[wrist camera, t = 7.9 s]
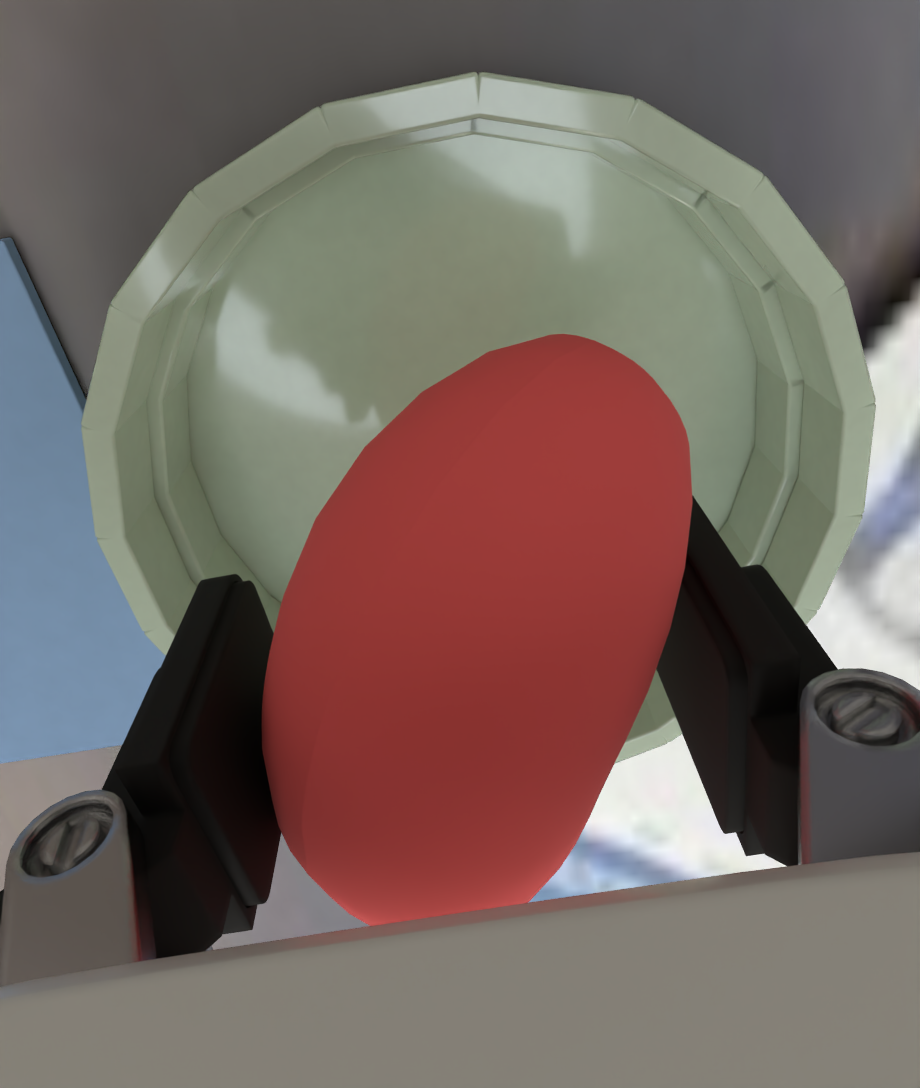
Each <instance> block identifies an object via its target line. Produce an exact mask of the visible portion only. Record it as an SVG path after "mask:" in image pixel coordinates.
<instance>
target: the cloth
mask: <svg viewBox="0 0 920 1088" xmlns="http://www.w3.org/2000/svg"><path fill="white" fill-rule="evenodd" d="M85 404H86V399H85V397H84V394H83V392H82V390H81V388H80V386H79V384H78V381H77V379H76V377H75V375H74V373H73V371H72V368H71V366H70V364H69V362H68V360H67V357H66V355H65V353H64V351H63V349H62V347H61V344H60V342H59V340H58V338H57V336H56V334H55V331H54V329H53V327H52V325H51V323H50V320H49V318H48V316H47V314H46V312H45V310H44V307H43V305H42V303H41V301H40V299H39V297H38V294H37V292H36V290H35V288H34V286H33V284H32V281H31V279H30V277H29V275H28V273H27V270H26V268H25V266H24V264H23V262H22V260H21V257H20V255H19V253H18V251H17V249H16V247H15V244H14V242H13V240H12V238H9V237H8V238H3V239H0V763H7V762H14V761H20V760H27V759H33V758H40V757H46V756H53V755H59V754H66V753H73V752H79V751H86V750H92V749H99V748H105V747H112V746H118V745H123V742H124V740H125V738H126V736H127V734H128V731H129V729H130V727H131V725H132V723H133V721H134V718H135V716H136V714H137V712H138V710H139V708H140V705H141V703H142V701H143V699H144V697H145V694H146V692H147V690H148V688H149V686H150V684H151V681H152V679H153V677H154V675H155V674H156V672H157V671H158V669H159V668H161V665H162V663H163V661H164V659H165V657H166V656H165V655H164V654H163V653H162V652H161V651H160V650H159V649H158V648H157V647H156V646H155V645H154V644H153V643H152V641H151V640H150V639H149V638H148V637H147V636H146V635H145V634H144V632H145V631H142V629H141V627H140V625H139V623H138V621H137V619H136V617H135V615H134V613H133V611H132V609H131V607H130V605H129V603H128V601H127V599H126V597H125V595H124V593H123V591H122V589H121V587H120V585H119V583H118V581H117V580H116V578H115V576H114V574H113V572H112V570H111V568H110V566H109V564H108V562H107V560H106V558H105V556H104V554H103V552H102V550H101V548H100V546H99V544H98V542H97V537H96V536H95V531H94V523H93V515H92V508H91V500H90V492H89V485H88V477H87V469H86V462H85V454H84V446H83V439H82V431H81V427H82V425H81V420H82V416H83V412H84V408H85Z"/></svg>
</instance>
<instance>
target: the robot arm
mask: <svg viewBox="0 0 920 1088" xmlns="http://www.w3.org/2000/svg"><path fill="white" fill-rule="evenodd" d="M692 501H693V503H692V512H691V520H690V529H689V537H688V546H687V554H686V563H685V569H684V574H683V578H682V582H681V586H680V590H679V594H678V599H677V603H676V607H675V611H674V615H673V619H672V624H671V628H670V631H669V634H668V636H667V639H666V642H665V645H664V648H663V651H662V654H661V656H660V659H659V662H658V665H657V668H656V669H657V672H658V674H659V677H660V679H661V682H662V684H663V687H664V689H665V692H666V694H667V697H668V699H669V702H670V704H671V707H672V709H673V712H674V714H675V717H676V719H677V721H678V724H679V726H680V729H681V731H682V734H683V736H684V739H685V741H686V744H687V746H688V749H689V751H690V754H691V756H692V759H693V761H694V764H695V766H696V769H697V771H698V774H699V776H700V778H701V781H702V783H703V786H704V788H705V791H706V793H707V796H708V798H709V801H710V803H711V806H712V808H713V811H714V813H715V816H716V818H717V821H718V823H719V825H720V828H721V830H722V831H723V833H725V834H727V833H734V832H736V833H737V836H738V838H739V841H740V843H741V845H742V848H743V850H744V852H745V855H746V856H751V855H757V854H764V853H765V855H767V856H769V857H771V858H773V859H775V860H776V861H778V862H780V863H782V864H784V865H786V866H787V867H780V868H772V869H764V870H756V871H748V872H740V873H733V874H726V875H719V876H712V877H705V878H698V879H691V880H684V881H677V882H670V883H663V884H656V885H649V886H642V887H635V888H628V889H621V890H614V891H607V892H600V893H593V894H586V895H579V896H572V897H565V898H558V899H551V900H544V901H537V902H531V903H524V904H517V905H510V906H503V907H497V908H490V909H483V910H476V911H469V912H463V913H456V914H449V915H442V916H435V917H429V918H422V919H415V920H409V921H402V922H395V923H388V924H382V925H375V926H368V927H362V928H355V929H348V930H341V931H335V932H328V933H322V934H315V935H309V936H302V937H296V938H289V939H282V940H276V941H269V942H263V943H256V944H250V945H243V946H237V947H230V948H224V949H217V950H213V948H212V946H211V945H212V944H214V943H215V942H216V941H217V940H218V939H219V938H220V937H221V936H222V934H228V933H234V932H241V931H248V930H252V929H253V924H254V919H255V914H256V909H257V904H264V903H265V902H266V901H267V899H268V897H269V893H270V889H271V883H272V878H273V873H274V868H275V862H276V857H277V852H278V847H279V841H280V836H281V830H280V828H279V826H278V822H277V818H276V814H275V810H274V806H273V802H272V797H271V792H270V787H269V782H268V777H267V772H266V767H265V762H264V756H263V751H262V701H263V691H264V682H265V675H266V669H267V663H268V658H269V653H270V648H271V644H272V639H273V635H274V633H273V630H272V628H271V625H270V623H269V620H268V618H267V615H266V612H265V610H264V607H263V605H262V602H261V600H260V597H259V595H258V592H257V590H256V587H255V585H254V584H253V582H252V581H250V580H248V581H243V580H242V579H241V577H240V576H239V575H237V574H231V575H226V576H220V577H214V578H209V579H204V580H201V581H200V583H199V584H198V586H197V588H196V591H195V593H194V595H193V597H192V599H191V602H190V604H189V606H188V608H187V610H186V613H185V615H184V617H183V619H182V621H181V624H180V626H179V628H178V630H177V632H176V635H175V637H174V639H173V641H172V643H171V646H170V648H169V650H168V652H167V654H166V657H165V659H164V661H163V663H162V665H161V668H159V669H158V671H157V672H156V674H155V675H154V677H153V679H152V681H151V684H150V686H149V688H148V690H147V692H146V694H145V697H144V699H143V701H142V703H141V705H140V708H139V710H138V712H137V714H136V716H135V718H134V721H133V723H132V725H131V727H130V729H129V731H128V734H127V736H126V738H125V740H124V742H123V745H122V747H121V749H120V751H119V753H118V755H117V758H116V760H115V762H114V764H113V766H112V769H111V771H110V773H109V775H108V777H107V779H106V782H105V784H104V786H103V788H102V790H94V791H85V792H82V793H79V794H76V795H73V796H70V797H67V798H65V799H63V800H61V801H60V802H58V803H56V804H54V805H52V806H50V807H49V808H48V809H46V810H45V811H44V812H43V813H41V814H40V815H39V816H37V817H36V818H35V819H34V820H33V821H32V822H31V823H30V824H29V825H28V826H27V827H26V828H25V829H24V830H23V831H22V832H21V833H20V835H19V837H18V838H17V840H16V841H15V843H14V845H13V846H12V848H11V850H10V853H9V857H8V860H7V864H6V874H5V884H4V889H3V890H2V891H1V892H0V1088H920V691H919V690H918V689H916V688H915V687H913V686H912V685H910V684H908V683H907V682H905V681H904V680H902V679H899V678H896V677H894V676H891V675H888V674H886V673H883V672H878V671H873V670H867V669H839V670H838V669H837V668H836V666H835V665H834V663H833V662H832V661H831V659H830V658H829V656H828V655H827V654H826V652H825V651H824V649H823V648H822V647H821V645H820V644H819V642H818V641H817V640H816V638H815V637H814V636H813V634H812V633H811V631H810V630H809V629H808V627H807V626H806V624H805V623H804V622H803V620H802V619H801V617H800V616H799V615H798V613H797V612H796V610H795V609H794V608H793V606H792V605H791V603H790V602H789V601H788V599H787V598H786V596H785V595H784V594H783V592H782V591H781V589H780V588H779V587H778V585H777V584H776V583H775V581H774V580H773V578H772V577H771V576H770V574H769V573H768V571H767V570H766V569H765V568H764V567H763V566H761V565H758V564H756V565H750V566H745V567H740V565H739V564H738V562H737V561H736V559H735V558H734V556H733V555H732V553H731V552H730V550H729V549H728V547H727V546H726V544H725V543H724V541H723V540H722V538H721V537H720V535H719V534H718V532H717V531H716V529H715V528H714V526H713V525H712V523H711V522H710V520H709V519H708V517H707V516H706V514H705V513H704V511H703V510H702V508H701V507H700V505H699V504H698V502H697V501H696V499H695V498H694V496H693V495H692Z"/></svg>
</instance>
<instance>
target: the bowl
mask: <svg viewBox="0 0 920 1088" xmlns="http://www.w3.org/2000/svg"><path fill="white" fill-rule="evenodd" d="M552 334H570V335H577V336H581V337H585V338H588V339H591V340H595V341H597V342H599V343H601V344H604V345H606V346H608V347H610V348H612V349H614V350H616V351H618V352H619V353H621V354H623V355H625V356H626V357H628V358H630V359H631V360H633V361H634V362H636V363H637V364H638V365H639V366H641V367H642V368H643V369H644V370H645V371H646V372H647V373H648V374H649V375H650V376H651V377H652V378H653V379H654V380H655V381H656V383H657V384H658V385H659V386H660V388H661V389H662V390H663V391H664V393H665V394H666V395H667V397H668V398H669V399H670V400H671V402H672V404H673V405H674V407H675V409H676V410H677V412H678V414H679V415H680V418H681V420H682V422H683V425H684V427H685V429H686V433H687V437H688V441H689V447H690V465H691V483H692V495H693V496H694V498H695V499H696V501H697V502H698V504H699V505H700V507H701V508H702V510H703V511H704V513H705V514H706V516H707V517H708V519H709V520H710V522H711V523H712V525H713V526H714V528H715V529H716V531H717V532H718V534H719V535H720V537H721V538H722V540H723V541H724V543H725V544H726V546H727V547H728V549H729V550H730V552H731V553H732V555H733V556H734V558H735V559H736V561H737V562H738V564H739V565H740V567H745V566H750V565H756V564H758V565H761V566H763V567H764V568H765V569H766V570H767V571H768V573H769V574H770V576H771V577H772V578H773V580H774V581H775V583H776V584H777V585H778V587H779V588H780V589H781V591H782V592H783V594H784V595H785V596H786V598H787V599H788V601H789V602H790V603H791V605H792V606H793V608H794V609H795V610H796V612H797V613H798V615H799V616H800V617H801V619H802V620H803V622H804V623H805V624H806V625H807V623H808V622H809V621H810V620H811V619H812V618H813V617H814V616H815V614H816V613H817V610H819V609H820V607H821V605H822V602H823V600H824V598H825V596H826V594H827V592H828V590H829V588H830V585H831V583H832V581H833V579H834V577H835V575H836V573H837V570H838V568H839V566H840V564H841V562H842V560H843V558H844V556H845V553H846V551H847V549H848V547H849V545H850V543H851V541H852V539H853V536H854V534H855V532H856V530H857V528H858V526H859V524H860V522H861V519H862V514H863V512H864V506H865V497H866V488H867V479H868V471H869V462H870V453H871V444H872V435H873V427H874V418H875V409H876V405H875V403H874V402H875V395H874V391H873V388H872V384H871V380H870V376H869V372H868V368H867V364H866V360H865V356H864V352H863V348H862V345H861V341H860V337H859V333H858V329H857V325H856V321H855V317H854V313H853V309H852V306H851V302H850V298H849V294H848V290H847V286H846V285H845V283H844V280H843V278H842V277H841V275H840V274H839V273H838V271H837V270H836V269H835V267H834V266H833V265H832V263H831V262H830V261H829V259H828V258H827V257H826V255H825V254H824V253H823V251H822V250H821V249H820V247H819V246H818V245H817V243H816V242H815V240H814V239H813V238H812V236H811V235H810V234H809V232H808V231H807V230H806V228H805V227H804V226H803V224H802V223H801V222H800V220H799V219H798V218H797V216H796V215H795V214H794V212H793V211H792V209H791V208H790V207H789V205H788V204H787V203H786V201H785V200H784V199H783V197H782V196H781V195H780V193H779V192H778V191H777V189H776V188H775V187H774V185H773V184H772V183H771V181H770V180H769V178H768V177H766V176H764V175H763V173H762V172H761V171H759V170H758V169H756V168H755V167H753V166H751V165H750V164H748V163H746V162H745V161H743V160H741V159H740V158H738V157H736V156H735V155H733V154H731V153H730V152H728V151H726V150H725V149H723V148H721V147H720V146H718V145H716V144H715V143H713V142H711V141H710V140H708V139H706V138H705V137H703V136H701V135H700V134H698V133H696V132H695V131H693V130H691V129H690V128H688V127H686V126H685V125H683V124H681V123H680V122H678V121H676V120H675V119H673V118H671V117H670V116H668V115H666V114H665V113H663V112H661V111H660V110H658V109H656V108H655V107H653V106H651V105H650V104H648V103H646V102H645V101H643V100H642V99H637V98H634V97H633V96H630V95H624V94H618V93H612V92H605V91H599V90H593V89H587V88H581V87H575V86H569V85H563V84H556V83H550V82H544V81H538V80H532V79H526V78H520V77H513V76H507V75H501V74H495V73H489V72H480V73H478V74H477V72H470V73H465V74H460V75H456V76H451V77H446V78H441V79H437V80H432V81H427V82H423V83H418V84H413V85H408V86H404V87H399V88H394V89H390V90H385V91H380V92H376V93H371V94H366V95H361V96H357V97H352V98H347V99H343V100H338V101H333V102H328V103H324V104H323V105H321V107H315V108H313V109H312V110H310V111H309V112H307V113H306V114H304V115H302V116H301V117H299V118H298V119H296V120H295V121H293V122H292V123H290V124H289V125H287V126H286V127H284V128H283V129H281V130H280V131H278V132H276V133H275V134H273V135H272V136H270V137H269V138H267V139H266V140H264V141H263V142H261V143H260V144H258V145H257V146H255V147H254V148H252V149H250V150H249V151H247V152H246V153H244V154H243V155H241V156H240V157H238V158H237V159H235V160H234V161H232V162H231V163H229V164H228V165H226V166H225V167H223V168H221V169H220V170H218V171H217V172H215V173H214V174H212V175H211V176H209V177H208V178H206V179H205V180H203V181H202V182H200V183H199V184H197V185H195V186H194V188H193V190H190V191H188V193H187V194H186V196H185V197H184V198H183V200H182V201H181V203H180V204H179V206H178V207H177V208H176V210H175V211H174V213H173V214H172V215H171V217H170V218H169V220H168V221H167V223H166V224H165V225H164V227H163V228H162V230H161V231H160V232H159V234H158V235H157V237H156V238H155V240H154V241H153V242H152V244H151V245H150V247H149V248H148V249H147V251H146V252H145V254H144V255H143V257H142V258H141V259H140V261H139V262H138V264H137V265H136V266H135V268H134V269H133V271H132V272H131V274H130V275H129V276H128V278H127V279H126V281H125V282H124V283H123V285H122V286H121V288H120V289H119V291H118V292H117V293H116V295H115V296H114V298H113V299H112V300H111V304H110V305H109V308H108V312H107V316H106V320H105V325H104V329H103V333H102V337H101V341H100V345H99V349H98V354H97V358H96V362H95V366H94V370H93V374H92V379H91V383H90V387H89V391H88V395H87V399H86V404H85V408H84V412H83V416H82V420H81V425H82V427H81V431H82V439H83V446H84V454H85V462H86V469H87V477H88V485H89V492H90V500H91V508H92V515H93V523H94V531H95V536H96V537H97V542H98V544H99V546H100V548H101V550H102V552H103V554H104V556H105V558H106V560H107V562H108V564H109V566H110V568H111V570H112V572H113V574H114V576H115V578H116V580H117V581H118V583H119V585H120V587H121V589H122V591H123V593H124V595H125V597H126V599H127V601H128V603H129V605H130V607H131V609H132V611H133V613H134V615H135V617H136V619H137V621H138V623H139V625H140V627H141V629H142V631H145V632H144V634H145V635H146V636H147V637H148V638H149V639H150V640H151V641H152V643H153V644H154V645H155V646H156V647H157V648H158V649H159V650H160V651H161V652H162V653H163V654H164V655H165V656H166V654H167V652H168V650H169V648H170V646H171V643H172V641H173V639H174V637H175V635H176V632H177V630H178V628H179V626H180V624H181V621H182V619H183V617H184V615H185V613H186V610H187V608H188V606H189V604H190V602H191V599H192V597H193V595H194V593H195V591H196V588H197V586H198V584H199V583H200V581H201V580H204V579H209V578H214V577H220V576H226V575H231V574H237V575H239V576H240V577H241V579H242V580H243V581H248V580H250V581H252V582H253V584H254V585H255V587H256V590H257V592H258V595H259V597H260V600H261V602H262V605H263V607H264V610H265V612H266V615H267V618H268V620H269V623H270V625H271V628H272V630H273V633H274V631H275V626H276V622H277V618H278V614H279V610H280V606H281V603H282V599H283V595H284V593H285V590H286V588H287V586H288V583H289V581H290V579H291V576H292V574H293V571H294V569H295V567H296V564H297V562H298V559H299V557H300V555H301V552H302V550H303V547H304V545H305V543H306V540H307V538H308V535H309V533H310V531H311V528H312V526H313V523H314V521H315V519H316V517H317V516H318V514H319V513H320V511H321V510H322V508H323V507H324V506H325V504H326V503H327V501H328V500H329V498H330V497H331V495H332V494H333V492H334V491H335V489H336V488H337V487H338V485H339V484H340V482H341V481H342V479H343V478H344V476H345V475H346V473H347V472H348V470H349V469H350V468H351V466H352V465H353V463H354V462H355V460H356V459H357V457H358V456H359V454H360V453H361V452H362V450H363V449H364V447H365V446H366V445H367V444H368V443H369V442H370V441H371V440H372V439H374V438H375V437H376V436H377V435H378V434H379V433H380V432H381V431H382V430H383V429H384V428H385V427H386V426H387V425H388V424H389V423H390V422H391V421H392V420H393V419H394V418H395V417H396V416H397V415H398V414H399V413H401V412H402V411H403V410H404V409H405V408H406V407H407V406H408V405H409V404H410V403H411V402H412V401H413V400H414V399H415V398H416V397H417V396H418V395H419V394H420V393H421V392H423V391H424V390H426V389H428V388H429V387H431V386H433V385H434V384H436V383H438V382H439V381H441V380H443V379H444V378H446V377H448V376H449V375H451V374H453V373H454V372H456V371H458V370H459V369H461V368H463V367H464V366H466V365H467V364H469V363H471V362H472V361H474V360H476V359H477V358H479V357H480V356H482V355H484V354H485V353H487V352H489V351H493V350H496V349H500V348H504V347H508V346H511V345H515V344H519V343H522V342H526V341H529V340H533V339H536V338H540V337H544V336H547V335H552ZM681 734H682V731H681V729H680V726H679V724H678V721H677V719H676V717H675V714H674V712H673V709H672V707H671V704H670V702H669V699H668V697H667V694H666V692H665V689H664V687H663V684H662V682H661V679H660V677H659V674H658V672H657V669H656V671H655V674H654V676H653V679H652V682H651V685H650V688H649V691H648V693H647V695H646V697H645V699H644V702H643V704H642V706H641V708H640V710H639V712H638V715H637V717H636V719H635V721H634V723H633V726H632V728H631V730H630V732H629V734H628V737H627V739H626V741H625V743H624V745H623V747H622V749H621V751H620V753H619V755H618V757H617V759H616V761H615V763H617V762H620V761H623V760H625V759H628V758H631V757H633V756H636V755H638V754H641V753H644V752H646V751H649V750H652V749H654V748H657V747H660V746H662V745H665V744H667V741H668V742H671V741H672V740H674V739H675V738H677V737H678V736H680V735H681ZM615 763H614V764H615Z"/></svg>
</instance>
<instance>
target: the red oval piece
mask: <svg viewBox="0 0 920 1088" xmlns="http://www.w3.org/2000/svg"><path fill="white" fill-rule="evenodd" d="M692 503H693V501H692V483H691V465H690V447H689V441H688V437H687V433H686V429H685V427H684V425H683V422H682V420H681V418H680V415H679V414H678V412H677V410H676V409H675V407H674V405H673V404H672V402H671V400H670V399H669V398H668V397H667V395H666V394H665V393H664V391H663V390H662V389H661V388H660V386H659V385H658V384H657V383H656V381H655V380H654V379H653V378H652V377H651V376H650V375H649V374H648V373H647V372H646V371H645V370H644V369H643V368H642V367H641V366H639V365H638V364H637V363H636V362H634V361H633V360H631V359H630V358H628V357H626V356H625V355H623V354H621V353H619V352H618V351H616V350H614V349H612V348H610V347H608V346H606V345H604V344H601V343H599V342H597V341H595V340H591V339H588V338H585V337H581V336H577V335H570V334H552V335H547V336H544V337H540V338H536V339H533V340H529V341H526V342H522V343H519V344H515V345H511V346H508V347H504V348H500V349H496V350H493V351H489V352H487V353H485V354H484V355H482V356H480V357H479V358H477V359H476V360H474V361H472V362H471V363H469V364H467V365H466V366H464V367H463V368H461V369H459V370H458V371H456V372H454V373H453V374H451V375H449V376H448V377H446V378H444V379H443V380H441V381H439V382H438V383H436V384H434V385H433V386H431V387H429V388H428V389H426V390H424V391H423V392H421V393H420V394H419V395H418V396H417V397H416V398H415V399H414V400H413V401H412V402H411V403H410V404H409V405H408V406H407V407H406V408H405V409H404V410H403V411H402V412H401V413H399V414H398V415H397V416H396V417H395V418H394V419H393V420H392V421H391V422H390V423H389V424H388V425H387V426H386V427H385V428H384V429H383V430H382V431H381V432H380V433H379V434H378V435H377V436H376V437H375V438H374V439H372V440H371V441H370V442H369V443H368V444H367V445H366V446H365V447H364V449H363V450H362V452H361V453H360V454H359V456H358V457H357V459H356V460H355V462H354V463H353V465H352V466H351V468H350V469H349V470H348V472H347V473H346V475H345V476H344V478H343V479H342V481H341V482H340V484H339V485H338V487H337V488H336V489H335V491H334V492H333V494H332V495H331V497H330V498H329V500H328V501H327V503H326V504H325V506H324V507H323V508H322V510H321V511H320V513H319V514H318V516H317V517H316V519H315V521H314V523H313V526H312V528H311V531H310V533H309V535H308V538H307V540H306V543H305V545H304V547H303V550H302V552H301V555H300V557H299V559H298V562H297V564H296V567H295V569H294V571H293V574H292V576H291V579H290V581H289V583H288V586H287V588H286V590H285V593H284V595H283V599H282V603H281V606H280V610H279V614H278V618H277V622H276V626H275V631H274V635H273V639H272V644H271V648H270V653H269V658H268V663H267V669H266V675H265V682H264V691H263V701H262V751H263V756H264V762H265V767H266V772H267V777H268V782H269V787H270V792H271V797H272V802H273V806H274V810H275V814H276V818H277V822H278V826H279V828H280V830H281V832H282V834H283V837H284V839H285V841H286V843H287V845H288V847H289V849H290V851H291V852H292V854H293V855H294V856H295V858H296V859H297V860H298V862H299V863H300V864H301V866H302V867H303V868H304V870H305V871H306V872H307V874H308V875H309V876H310V877H311V878H312V879H313V880H314V881H315V882H316V883H317V884H318V885H319V886H320V887H321V888H322V889H323V890H324V891H325V892H326V893H327V894H328V895H329V896H330V897H331V898H332V899H333V900H335V901H336V902H337V903H338V904H339V905H340V906H341V907H342V908H344V909H345V910H346V911H347V912H348V913H349V914H351V915H353V916H354V917H356V918H358V919H359V920H361V921H363V922H365V923H366V924H368V925H370V926H375V925H382V924H388V923H395V922H402V921H409V920H415V919H422V918H429V917H435V916H442V915H449V914H456V913H463V912H469V911H476V910H483V909H490V908H497V907H503V906H510V905H517V904H524V903H528V902H529V901H530V900H531V899H532V898H533V897H534V896H535V895H536V894H537V892H538V891H539V890H540V889H541V888H542V887H543V886H544V885H545V884H546V883H547V882H548V881H549V879H550V878H551V877H552V876H553V875H554V874H555V873H556V872H557V870H558V869H559V868H560V867H561V865H562V864H563V862H564V861H565V859H566V858H567V856H568V855H569V853H570V852H571V850H572V849H573V847H574V846H575V844H576V842H577V840H578V838H579V836H580V834H581V832H582V831H583V829H584V827H585V825H586V823H587V821H588V819H589V817H590V815H591V812H592V810H593V808H594V805H595V803H596V801H597V799H598V797H599V794H600V792H601V790H602V788H603V786H604V784H605V782H606V780H607V777H608V775H609V773H610V771H611V769H612V767H613V765H614V763H615V761H616V759H617V757H618V755H619V753H620V751H621V749H622V747H623V745H624V743H625V741H626V739H627V737H628V734H629V732H630V730H631V728H632V726H633V723H634V721H635V719H636V717H637V715H638V712H639V710H640V708H641V706H642V704H643V702H644V699H645V697H646V695H647V693H648V691H649V688H650V685H651V682H652V679H653V676H654V674H655V671H656V668H657V665H658V662H659V659H660V656H661V654H662V651H663V648H664V645H665V642H666V639H667V636H668V634H669V631H670V628H671V624H672V619H673V615H674V611H675V607H676V603H677V599H678V594H679V590H680V586H681V582H682V578H683V574H684V569H685V563H686V554H687V546H688V537H689V529H690V520H691V512H692Z"/></svg>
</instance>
